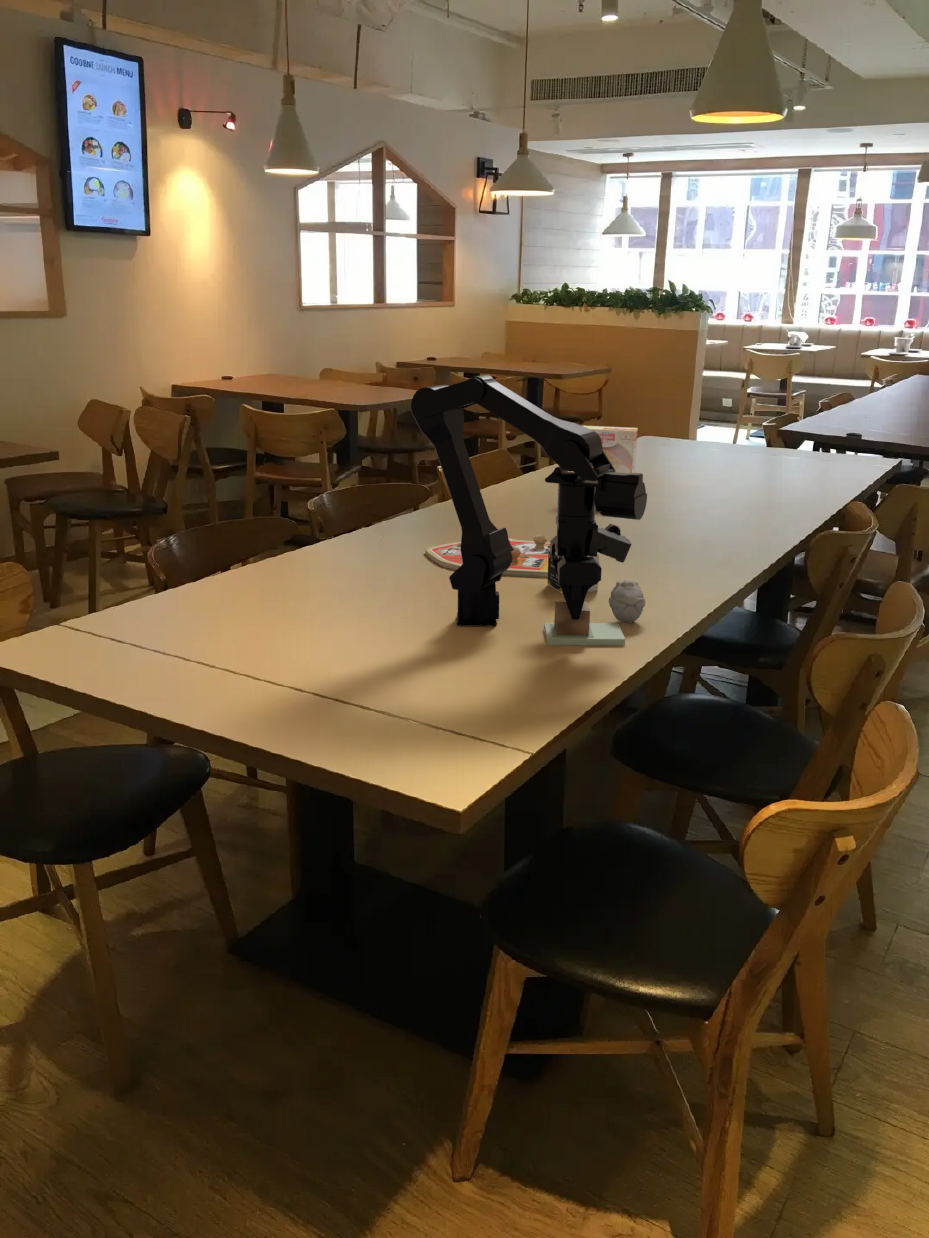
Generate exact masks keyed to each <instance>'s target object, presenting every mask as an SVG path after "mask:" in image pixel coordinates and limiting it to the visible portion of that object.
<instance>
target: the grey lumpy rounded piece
mask: <svg viewBox="0 0 929 1238" xmlns="http://www.w3.org/2000/svg"><path fill="white" fill-rule="evenodd" d="M646 603H647V602H646V598H645V596H644V592H643V590H642V588H641V587H640V586H639V582H638V581H636V580H631V579H624V580H617V581H616V583H615V586H614V587H613V589H611V591H610V596H609V598H608V605H609V607H610V608H611V612H612V614H613V616H614V618H615V619H616V620H617V621H619V622H620V623H624V624H630V623H634V622H635V621H637V620H638V619H639V618H640V617H641V615H642V613H643V610H644V608H645V606H646Z"/></svg>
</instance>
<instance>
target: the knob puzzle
mask: <svg viewBox="0 0 929 1238" xmlns="http://www.w3.org/2000/svg"><path fill="white" fill-rule="evenodd" d="M508 539H509V542H510V544H511V546H512V547H513V548H514V550H513V551H511V553H512V562H511V564H510V566H509V568H508V569H507V570H506V571H505V572H503V575H502V576H510V577H527V578H543V579H544V578H546V579H548V550H549V549H550V541H548V538H547V536H546V535H544V534H535V535H534V536H533V540H525V539H524V540H522V539H515V538H510V537H508ZM460 547H461V540H460V541H453V542H448V543H444V544H438V545H433V546H429V547H428V546H427V547H425V550H424V551H425V556H426V557H427V558H428V559H430V560H431V561H432V562H434V563H435V564H437V565H439V566H440V567H442V568H445V569H449V570H453V571H456V570H457V569H458V568H459V567H460V566H461V565H462V564H463V562H462V556H461V551H460Z"/></svg>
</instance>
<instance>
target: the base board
mask: <svg viewBox="0 0 929 1238" xmlns="http://www.w3.org/2000/svg"><path fill="white" fill-rule="evenodd" d="M543 630H544V634H545V639H546V643H547V645H548V646H625V645H626V638H625V636H624V632H623V631H622V629H621V627H620V625H619V622H618V623H617V622H590V623H589V635H557V633H556V629H555V626H554V622H544V623H543Z"/></svg>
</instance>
